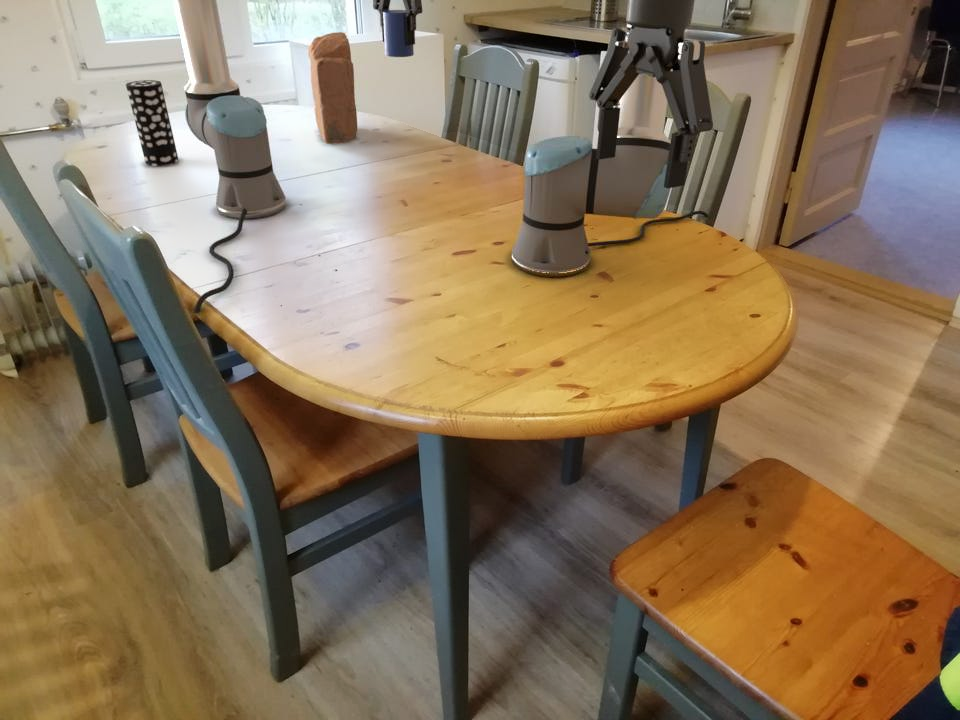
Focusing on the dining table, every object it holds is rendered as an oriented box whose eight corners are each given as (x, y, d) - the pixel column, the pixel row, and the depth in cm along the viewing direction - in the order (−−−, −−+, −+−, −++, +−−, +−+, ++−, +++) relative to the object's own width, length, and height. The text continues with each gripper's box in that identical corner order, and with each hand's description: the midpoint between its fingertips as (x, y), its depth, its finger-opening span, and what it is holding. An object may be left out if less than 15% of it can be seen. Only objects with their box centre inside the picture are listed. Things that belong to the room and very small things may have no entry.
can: (398, 51, 181) (396, 9, 176) (419, 54, 178) (418, 11, 172) (379, 54, 176) (376, 11, 171) (400, 58, 173) (398, 13, 167)
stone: (363, 142, 203) (354, 38, 189) (325, 145, 200) (313, 39, 186) (351, 127, 221) (342, 31, 207) (316, 130, 218) (304, 32, 204)
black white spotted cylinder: (184, 157, 190) (167, 80, 179) (169, 166, 183) (151, 87, 172) (155, 156, 190) (136, 79, 179) (139, 165, 183) (119, 86, 172)
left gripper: (436, -62, 161) (438, 45, 173) (375, -64, 171) (381, 37, 183) (414, -61, 156) (418, 49, 168) (353, -64, 166) (360, 40, 178)
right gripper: (572, -19, 87) (559, 150, 98) (720, -1, 68) (683, 205, 80) (618, -21, 90) (601, 144, 101) (772, -4, 71) (730, 195, 83)
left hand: (398, 42), depth 176 cm, fingers closed on can, 7 cm apart
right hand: (637, 171), depth 90 cm, fingers open, 13 cm apart
